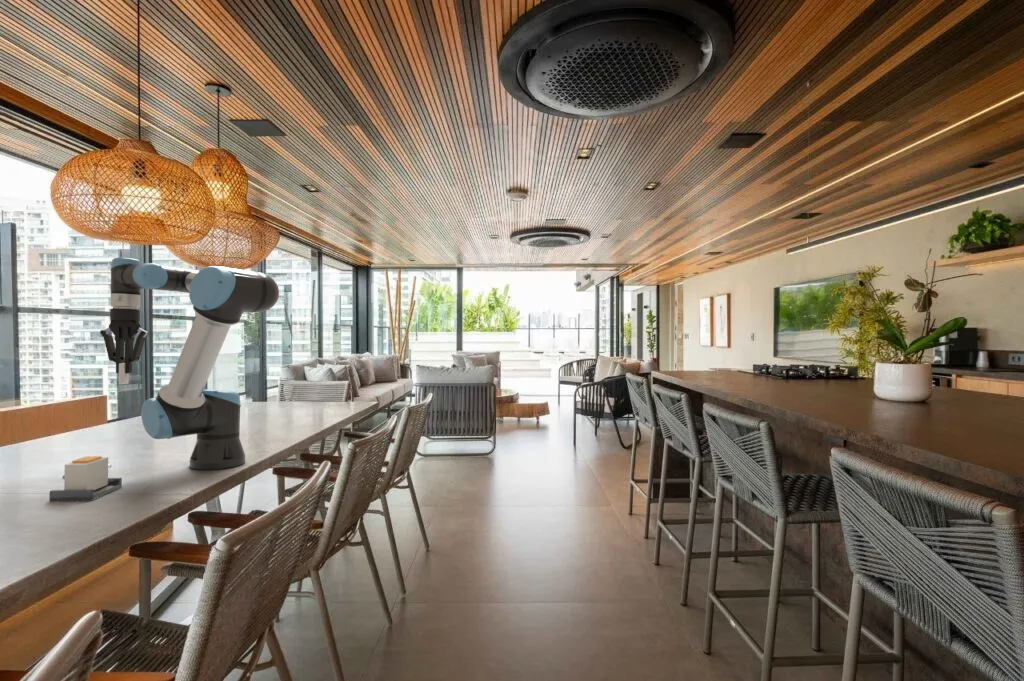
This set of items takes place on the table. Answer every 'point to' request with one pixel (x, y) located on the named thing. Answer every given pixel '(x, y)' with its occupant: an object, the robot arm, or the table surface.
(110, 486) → the dark grey tray
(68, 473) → the block
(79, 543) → the table surface
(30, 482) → the table surface
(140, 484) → the table surface
